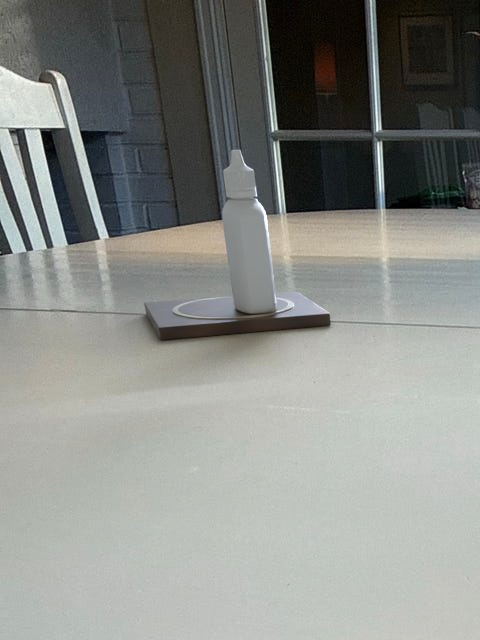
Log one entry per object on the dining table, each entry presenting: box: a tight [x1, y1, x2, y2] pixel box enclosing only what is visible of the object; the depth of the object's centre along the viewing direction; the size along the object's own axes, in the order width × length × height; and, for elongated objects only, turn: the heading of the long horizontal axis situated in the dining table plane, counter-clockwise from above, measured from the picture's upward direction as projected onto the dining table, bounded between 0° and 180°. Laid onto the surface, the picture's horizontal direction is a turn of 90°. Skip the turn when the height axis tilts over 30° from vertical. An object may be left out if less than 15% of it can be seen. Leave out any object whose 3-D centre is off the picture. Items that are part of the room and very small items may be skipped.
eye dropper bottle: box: [221, 149, 277, 314], centre depth 74 cm, size 4×6×12 cm
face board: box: [143, 290, 332, 341], centre depth 79 cm, size 14×12×1 cm
